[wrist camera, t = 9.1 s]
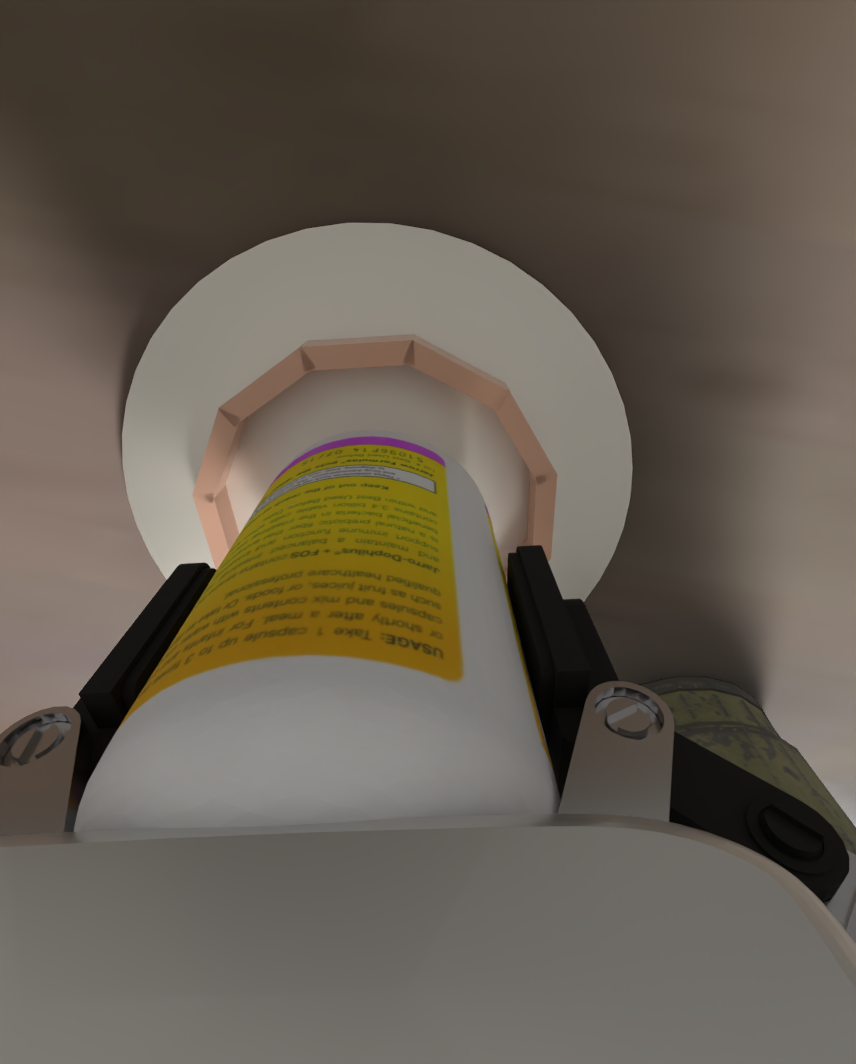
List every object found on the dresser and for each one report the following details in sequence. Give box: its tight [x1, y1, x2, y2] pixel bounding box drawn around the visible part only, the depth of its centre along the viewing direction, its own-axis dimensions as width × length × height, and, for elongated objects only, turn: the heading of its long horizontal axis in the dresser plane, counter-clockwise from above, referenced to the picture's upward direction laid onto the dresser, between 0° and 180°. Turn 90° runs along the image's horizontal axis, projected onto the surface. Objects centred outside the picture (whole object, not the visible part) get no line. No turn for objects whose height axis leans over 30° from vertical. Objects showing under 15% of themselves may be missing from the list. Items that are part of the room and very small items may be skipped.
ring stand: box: [122, 223, 633, 602], centre depth 16 cm, size 16×16×2 cm
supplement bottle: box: [74, 430, 561, 832], centre depth 10 cm, size 7×7×13 cm
